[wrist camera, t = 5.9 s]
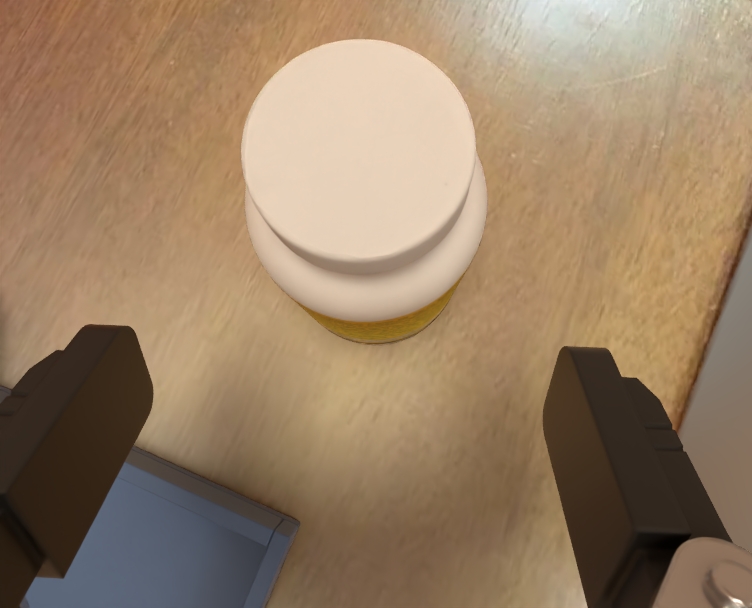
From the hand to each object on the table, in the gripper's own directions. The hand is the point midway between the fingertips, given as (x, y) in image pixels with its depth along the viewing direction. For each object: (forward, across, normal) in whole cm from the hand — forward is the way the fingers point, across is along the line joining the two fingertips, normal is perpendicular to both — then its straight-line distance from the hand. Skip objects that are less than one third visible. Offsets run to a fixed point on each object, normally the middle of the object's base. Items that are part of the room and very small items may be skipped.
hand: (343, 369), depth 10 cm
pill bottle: (+11, 0, +4) cm, 12 cm away
